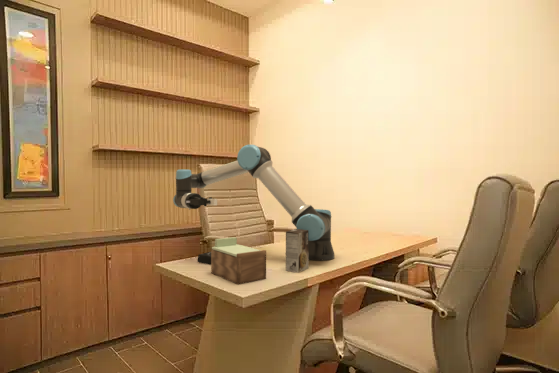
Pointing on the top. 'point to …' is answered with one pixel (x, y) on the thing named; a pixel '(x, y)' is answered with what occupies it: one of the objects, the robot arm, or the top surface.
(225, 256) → the box
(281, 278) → the top surface
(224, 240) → the lid
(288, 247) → the coffee box
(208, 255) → the portable cd player
